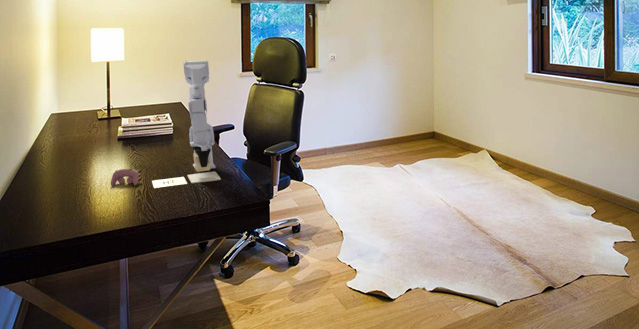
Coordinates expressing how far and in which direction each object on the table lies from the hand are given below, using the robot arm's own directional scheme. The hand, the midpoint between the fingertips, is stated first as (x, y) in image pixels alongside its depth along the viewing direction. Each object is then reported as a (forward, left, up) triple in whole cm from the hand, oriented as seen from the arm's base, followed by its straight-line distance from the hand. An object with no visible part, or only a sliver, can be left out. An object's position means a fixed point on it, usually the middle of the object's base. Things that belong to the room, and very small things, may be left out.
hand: (202, 165), depth 194 cm
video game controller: (-6, -28, -6) cm, 29 cm away
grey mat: (0, 0, -5) cm, 5 cm away
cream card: (0, -13, -5) cm, 14 cm away
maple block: (0, 0, -2) cm, 2 cm away
